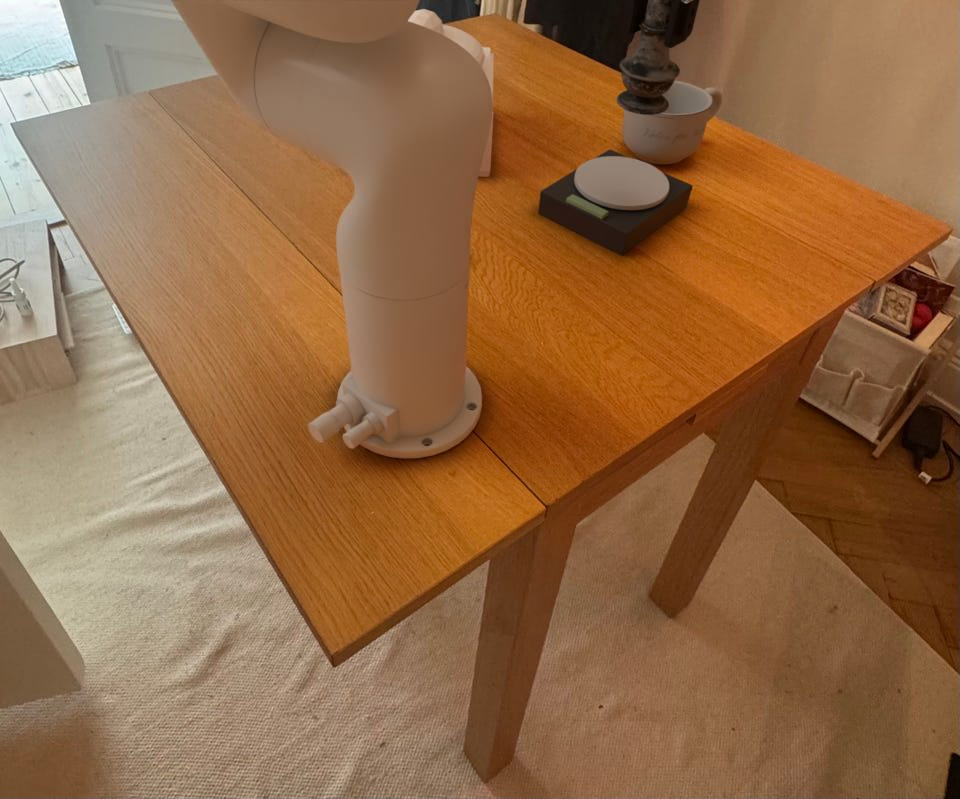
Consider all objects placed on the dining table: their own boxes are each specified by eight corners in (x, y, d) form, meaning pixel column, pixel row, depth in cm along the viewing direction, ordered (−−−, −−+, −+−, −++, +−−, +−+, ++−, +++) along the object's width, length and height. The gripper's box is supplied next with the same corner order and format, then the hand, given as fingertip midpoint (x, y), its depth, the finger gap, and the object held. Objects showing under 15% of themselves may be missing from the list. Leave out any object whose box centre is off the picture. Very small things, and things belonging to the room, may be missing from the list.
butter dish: (489, 177, 92) (497, 45, 80) (345, 170, 91) (332, 36, 80) (491, 112, 104) (498, -11, 92) (363, 105, 103) (354, -18, 92)
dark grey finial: (669, 92, 76) (699, -37, 67) (673, 118, 72) (705, -15, 63) (613, 87, 76) (635, -42, 68) (614, 113, 72) (637, -20, 64)
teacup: (635, 178, 93) (648, 117, 87) (603, 137, 100) (613, 78, 94) (733, 167, 96) (752, 107, 90) (695, 128, 103) (710, 70, 97)
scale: (622, 256, 81) (628, 227, 78) (537, 213, 86) (541, 184, 84) (686, 207, 89) (694, 179, 86) (605, 170, 94) (610, 142, 91)
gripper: (591, -224, 58) (562, 22, 71) (784, -190, 51) (712, 76, 64) (643, -231, 62) (607, 3, 75) (830, -201, 55) (753, 52, 68)
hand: (656, 34), depth 69 cm, fingers closed on dark grey finial, 3 cm apart
